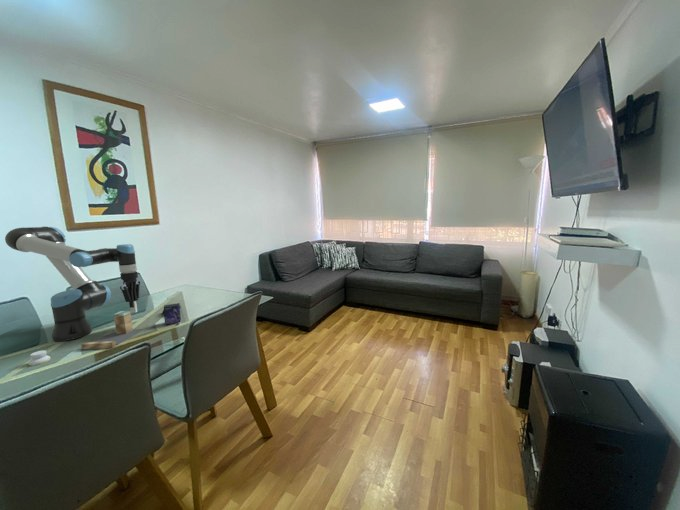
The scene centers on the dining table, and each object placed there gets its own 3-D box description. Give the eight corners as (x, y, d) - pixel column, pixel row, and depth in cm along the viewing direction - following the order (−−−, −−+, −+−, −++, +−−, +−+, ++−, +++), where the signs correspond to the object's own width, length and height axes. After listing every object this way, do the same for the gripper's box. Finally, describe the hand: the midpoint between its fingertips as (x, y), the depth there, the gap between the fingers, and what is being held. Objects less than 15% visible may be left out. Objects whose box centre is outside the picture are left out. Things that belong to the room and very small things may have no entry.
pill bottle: (57, 373, 120) (53, 349, 119) (39, 382, 114) (35, 356, 112) (45, 372, 121) (41, 348, 120) (27, 381, 115) (22, 356, 113)
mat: (87, 346, 130) (87, 345, 130) (116, 330, 148) (115, 330, 148) (117, 344, 131) (117, 344, 131) (142, 329, 149) (142, 328, 148)
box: (165, 325, 154) (162, 307, 152) (165, 322, 159) (163, 304, 157) (181, 322, 158) (179, 305, 156) (181, 319, 162) (179, 302, 161)
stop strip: (82, 349, 127) (81, 344, 127) (85, 347, 129) (84, 342, 129) (112, 347, 128) (112, 342, 127) (115, 345, 130) (115, 340, 129)
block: (116, 334, 142) (113, 314, 141) (123, 330, 147) (120, 311, 146) (126, 333, 143) (123, 313, 141) (133, 329, 148) (130, 310, 146)
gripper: (127, 274, 143) (133, 316, 146) (143, 269, 156) (148, 308, 159) (112, 274, 143) (118, 316, 146) (130, 269, 156) (135, 308, 159)
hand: (134, 312), depth 153 cm, fingers closed
